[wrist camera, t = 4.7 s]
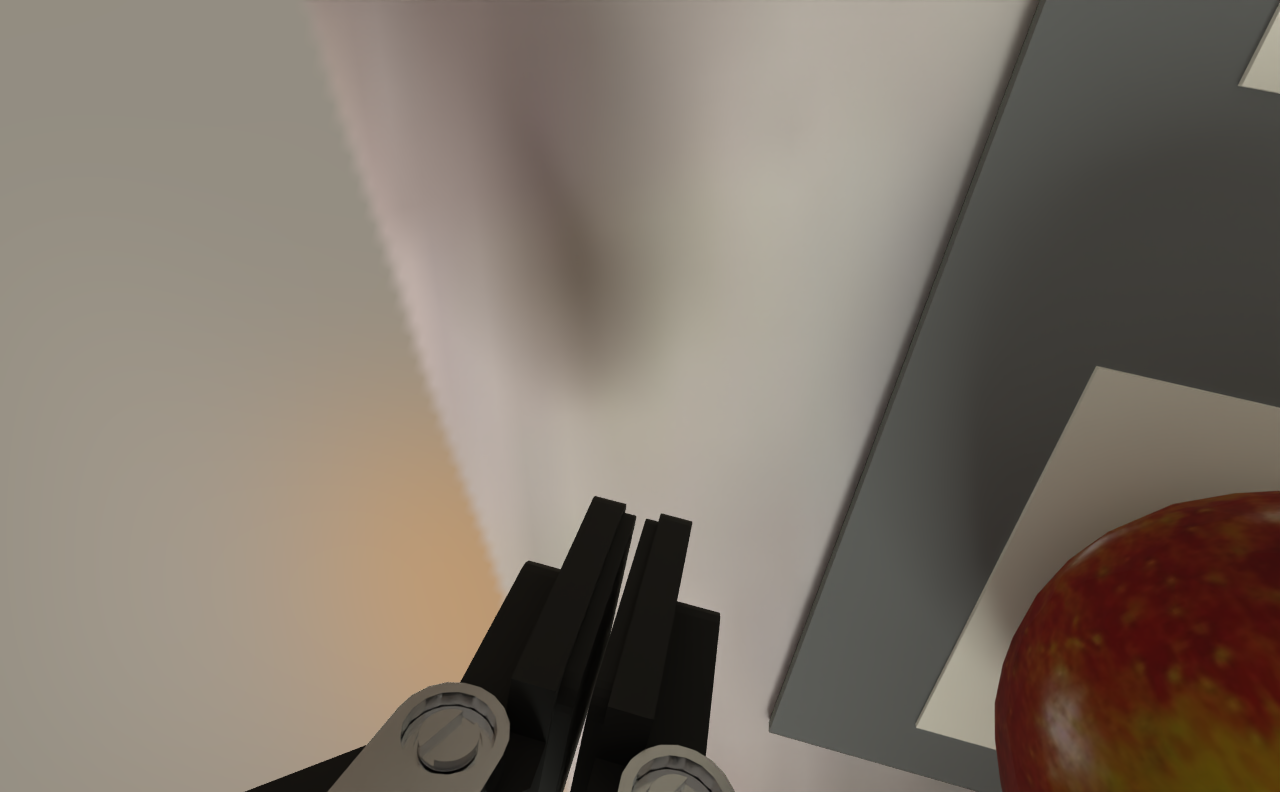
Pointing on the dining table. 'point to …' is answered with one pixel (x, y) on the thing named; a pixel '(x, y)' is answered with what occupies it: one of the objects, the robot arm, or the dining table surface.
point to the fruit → (1152, 659)
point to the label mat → (1059, 368)
